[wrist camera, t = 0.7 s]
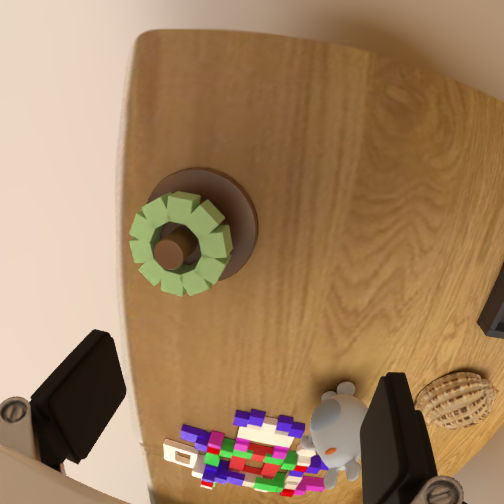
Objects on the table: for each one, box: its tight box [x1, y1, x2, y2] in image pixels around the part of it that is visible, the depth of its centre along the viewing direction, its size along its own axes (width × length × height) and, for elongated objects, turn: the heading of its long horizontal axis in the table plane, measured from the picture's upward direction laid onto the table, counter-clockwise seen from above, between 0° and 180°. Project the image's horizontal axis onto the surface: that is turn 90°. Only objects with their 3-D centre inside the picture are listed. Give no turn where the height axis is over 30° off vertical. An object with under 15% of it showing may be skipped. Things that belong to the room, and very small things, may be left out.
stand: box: [147, 168, 258, 281], centre depth 25 cm, size 10×10×7 cm
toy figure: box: [300, 381, 368, 489], centre depth 27 cm, size 11×6×12 cm, turn 137°
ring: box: [129, 191, 233, 296], centre depth 23 cm, size 7×8×2 cm
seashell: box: [415, 372, 498, 430], centre depth 28 cm, size 8×6×10 cm
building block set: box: [163, 409, 329, 497], centre depth 37 cm, size 25×20×4 cm
